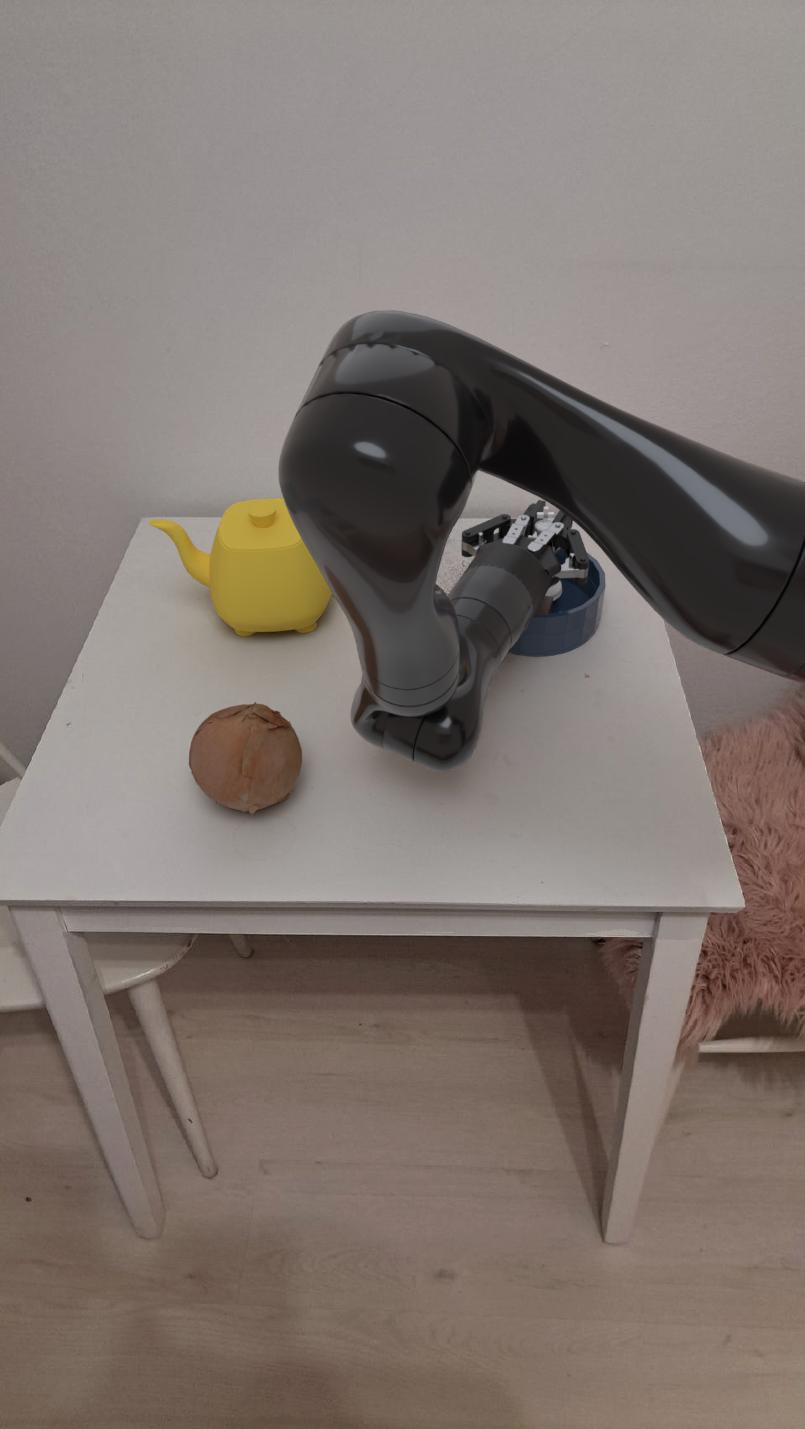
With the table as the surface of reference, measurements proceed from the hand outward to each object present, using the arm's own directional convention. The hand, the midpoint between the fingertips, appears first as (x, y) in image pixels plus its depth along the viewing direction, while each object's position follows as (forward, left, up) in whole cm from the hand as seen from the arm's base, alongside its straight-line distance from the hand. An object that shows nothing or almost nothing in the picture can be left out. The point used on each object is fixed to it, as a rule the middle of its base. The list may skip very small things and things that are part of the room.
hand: (553, 511), depth 96 cm
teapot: (+27, +16, -10) cm, 33 cm away
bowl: (0, +5, -10) cm, 11 cm away
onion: (+14, +39, -10) cm, 42 cm away
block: (-1, +8, -9) cm, 13 cm away
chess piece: (0, +3, -8) cm, 9 cm away
